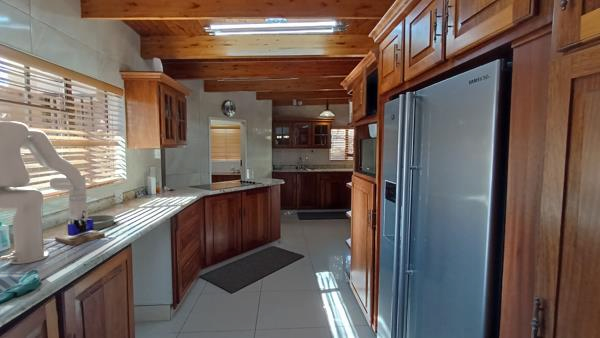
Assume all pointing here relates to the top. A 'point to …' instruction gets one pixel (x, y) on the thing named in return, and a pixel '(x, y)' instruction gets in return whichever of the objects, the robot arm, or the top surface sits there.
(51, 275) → the top surface
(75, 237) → the mounting board
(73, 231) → the blue curved stepped block
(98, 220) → the cake pan
